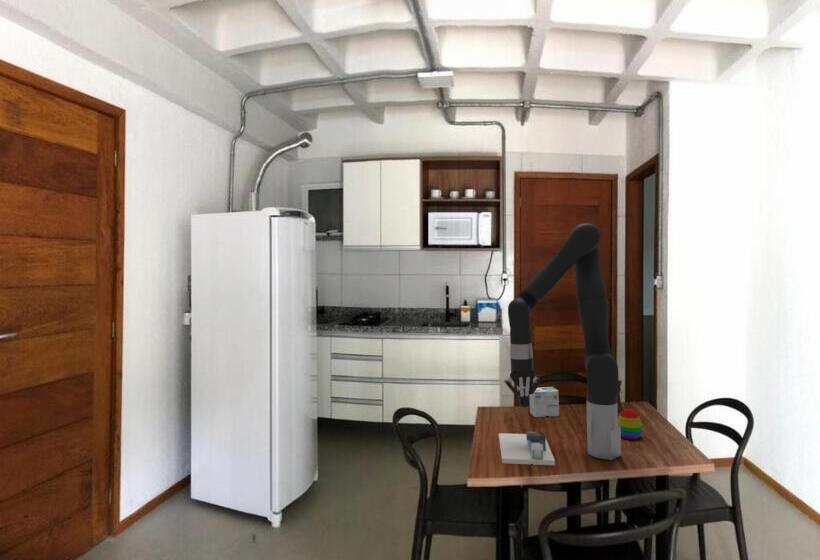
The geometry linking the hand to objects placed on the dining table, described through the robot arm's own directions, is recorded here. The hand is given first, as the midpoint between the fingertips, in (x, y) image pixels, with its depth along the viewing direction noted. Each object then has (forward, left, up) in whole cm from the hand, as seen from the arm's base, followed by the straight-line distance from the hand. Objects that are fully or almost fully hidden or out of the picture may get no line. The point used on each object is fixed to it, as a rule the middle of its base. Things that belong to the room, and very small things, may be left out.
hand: (523, 406), depth 150 cm
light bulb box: (+17, -33, -14) cm, 40 cm away
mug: (+2, -54, -14) cm, 56 cm away
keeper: (-6, +2, -12) cm, 14 cm away
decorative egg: (-18, -35, -14) cm, 42 cm away
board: (-2, +3, -14) cm, 14 cm away
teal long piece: (-6, +2, -12) cm, 14 cm away
